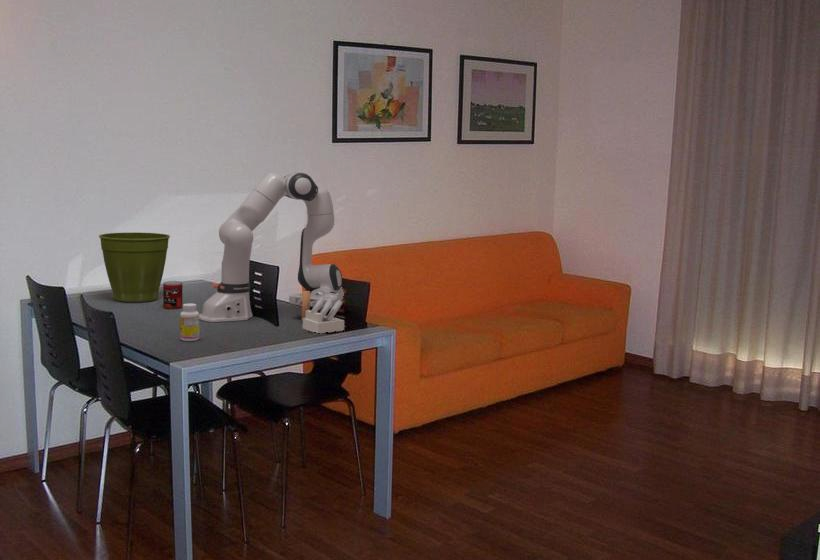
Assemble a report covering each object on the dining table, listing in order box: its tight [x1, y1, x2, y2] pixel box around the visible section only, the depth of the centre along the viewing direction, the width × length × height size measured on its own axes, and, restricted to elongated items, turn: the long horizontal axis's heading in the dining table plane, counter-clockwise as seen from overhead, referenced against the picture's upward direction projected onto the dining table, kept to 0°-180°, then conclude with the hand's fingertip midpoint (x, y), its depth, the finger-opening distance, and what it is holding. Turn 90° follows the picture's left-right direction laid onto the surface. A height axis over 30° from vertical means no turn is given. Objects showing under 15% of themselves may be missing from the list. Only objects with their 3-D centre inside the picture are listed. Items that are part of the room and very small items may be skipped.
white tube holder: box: [302, 297, 345, 334], centre depth 332 cm, size 14×11×13 cm
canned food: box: [162, 280, 183, 310], centre depth 363 cm, size 8×8×11 cm
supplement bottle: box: [179, 302, 200, 342], centre depth 305 cm, size 7×7×13 cm
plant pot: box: [98, 231, 171, 303], centre depth 378 cm, size 30×30×29 cm
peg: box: [301, 290, 311, 322], centre depth 341 cm, size 3×3×12 cm
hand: (304, 303), depth 340 cm, fingers closed on peg, 3 cm apart
